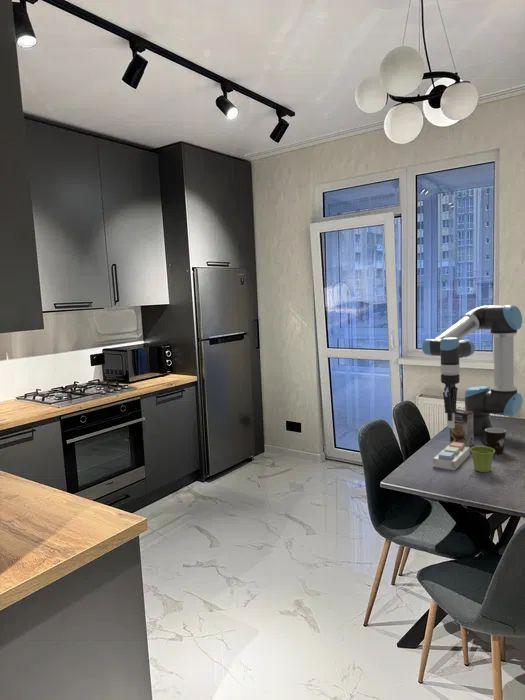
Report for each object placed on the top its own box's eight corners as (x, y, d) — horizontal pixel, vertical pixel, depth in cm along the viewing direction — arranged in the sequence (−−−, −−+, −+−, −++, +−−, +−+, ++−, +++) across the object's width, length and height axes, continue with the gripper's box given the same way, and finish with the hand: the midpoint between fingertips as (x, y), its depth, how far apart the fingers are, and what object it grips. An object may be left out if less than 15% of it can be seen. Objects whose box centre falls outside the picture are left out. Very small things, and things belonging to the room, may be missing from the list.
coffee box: (449, 443, 245) (448, 411, 243) (456, 440, 249) (455, 408, 247) (467, 447, 238) (466, 413, 236) (474, 444, 242) (473, 411, 240)
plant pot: (492, 466, 212) (492, 446, 211) (497, 474, 203) (497, 453, 202) (468, 465, 214) (468, 446, 213) (472, 473, 205) (472, 453, 204)
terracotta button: (453, 448, 231) (453, 441, 231) (464, 449, 228) (464, 443, 228) (449, 451, 227) (449, 444, 227) (461, 452, 224) (461, 446, 224)
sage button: (447, 452, 225) (447, 446, 225) (459, 454, 222) (459, 447, 222) (444, 456, 221) (444, 449, 221) (456, 457, 218) (455, 451, 218)
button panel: (449, 451, 233) (449, 444, 233) (469, 454, 228) (469, 447, 227) (433, 466, 216) (433, 458, 216) (454, 470, 211) (454, 462, 210)
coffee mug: (502, 448, 233) (501, 427, 232) (509, 454, 225) (508, 432, 224) (475, 449, 234) (475, 428, 233) (481, 455, 226) (481, 433, 225)
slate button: (442, 457, 219) (442, 451, 219) (454, 459, 216) (454, 452, 216) (438, 461, 215) (438, 454, 215) (450, 463, 212) (450, 456, 212)
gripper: (446, 371, 225) (446, 423, 227) (436, 375, 215) (437, 430, 217) (463, 371, 220) (464, 424, 223) (454, 376, 210) (455, 432, 213)
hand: (450, 427), depth 220 cm, fingers closed
